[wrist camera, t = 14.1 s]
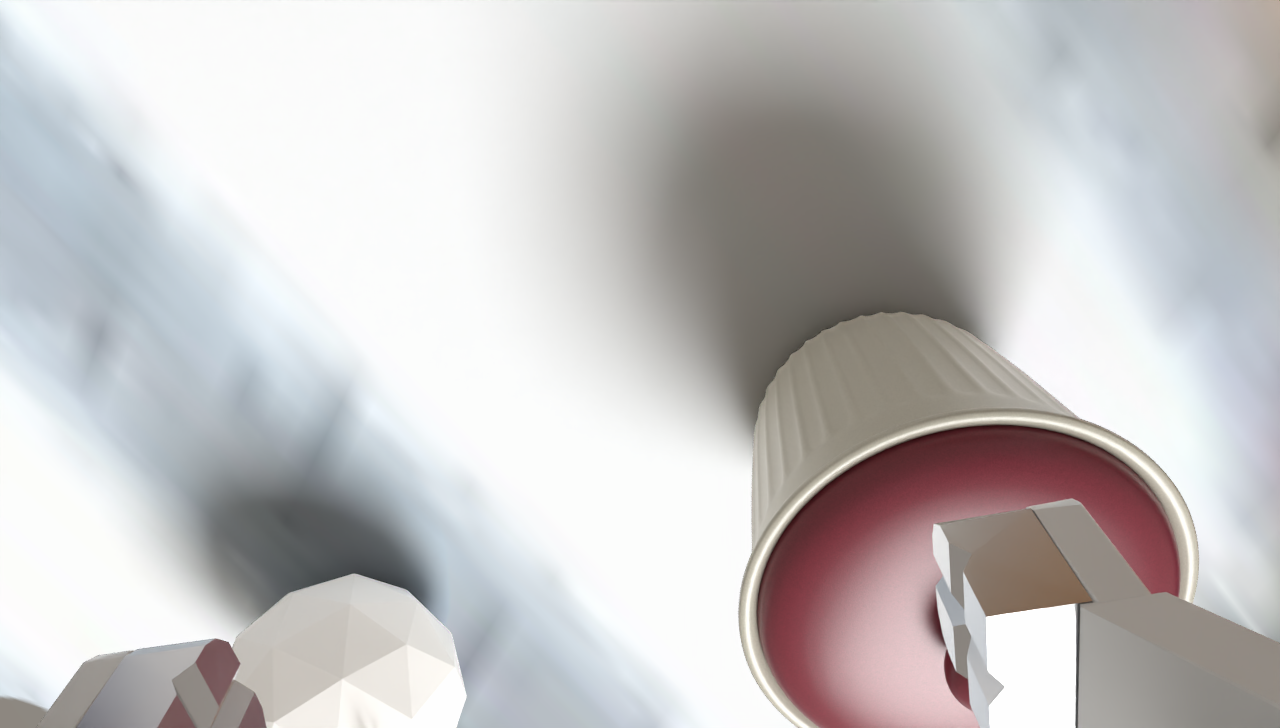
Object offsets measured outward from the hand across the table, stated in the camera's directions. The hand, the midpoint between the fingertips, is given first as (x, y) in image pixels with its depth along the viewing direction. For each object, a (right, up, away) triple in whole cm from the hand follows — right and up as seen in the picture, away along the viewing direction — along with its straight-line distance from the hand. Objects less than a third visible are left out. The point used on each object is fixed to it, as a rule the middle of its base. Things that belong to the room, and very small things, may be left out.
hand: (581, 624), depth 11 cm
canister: (+14, +1, +42) cm, 44 cm away
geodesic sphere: (-16, -13, +48) cm, 52 cm away
